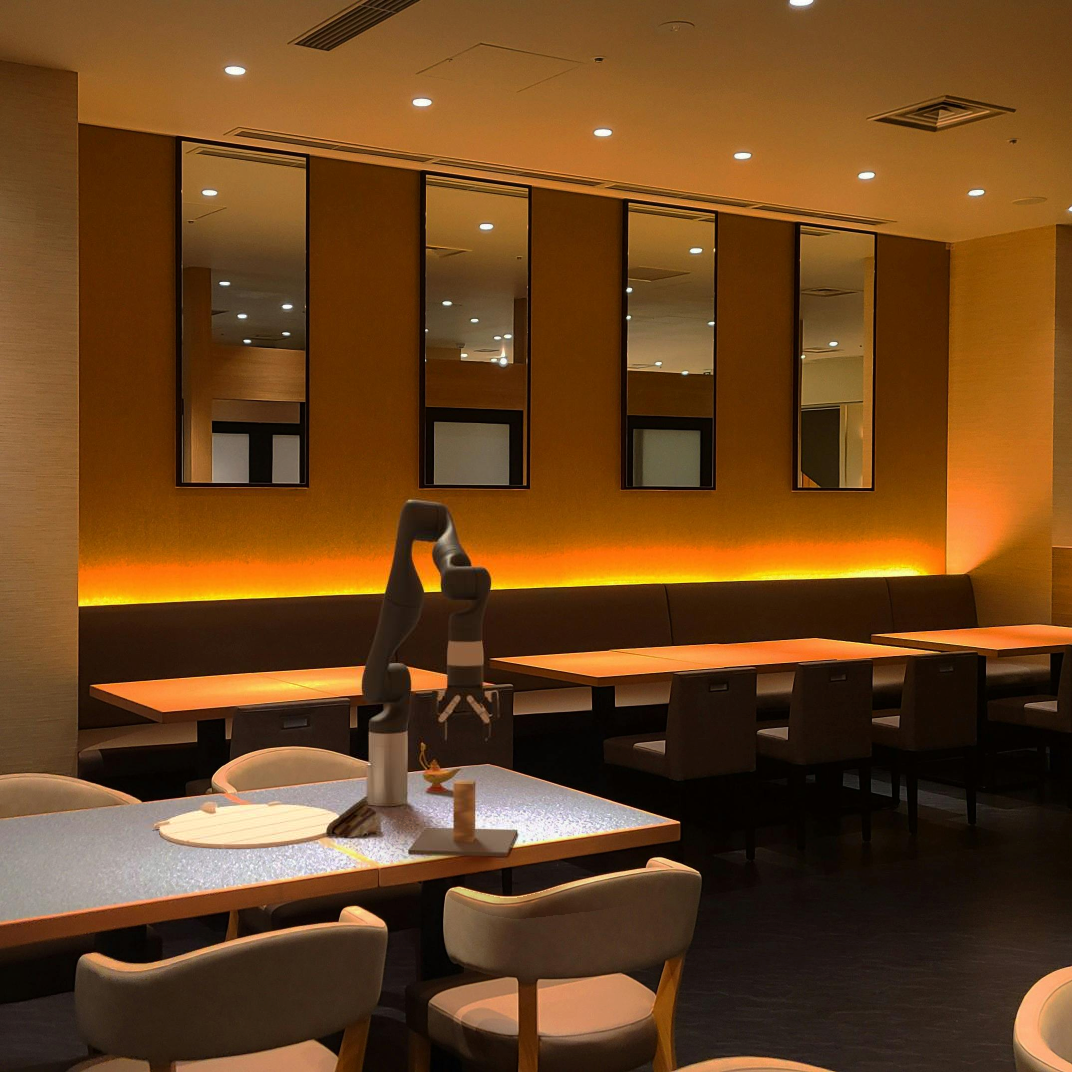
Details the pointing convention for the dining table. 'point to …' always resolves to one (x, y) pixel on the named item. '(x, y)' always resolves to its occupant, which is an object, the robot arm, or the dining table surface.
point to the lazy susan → (247, 825)
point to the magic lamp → (436, 774)
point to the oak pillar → (464, 811)
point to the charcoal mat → (482, 845)
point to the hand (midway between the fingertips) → (464, 740)
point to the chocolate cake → (356, 821)
